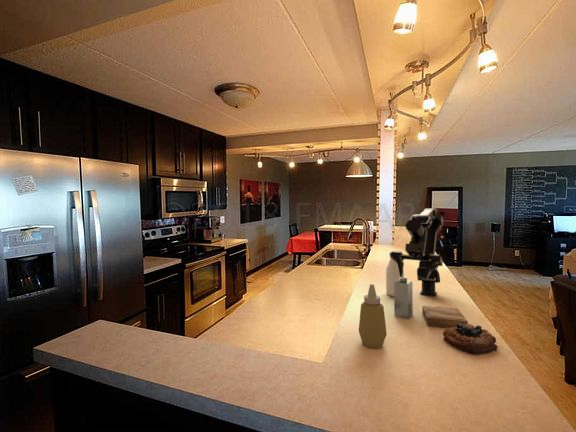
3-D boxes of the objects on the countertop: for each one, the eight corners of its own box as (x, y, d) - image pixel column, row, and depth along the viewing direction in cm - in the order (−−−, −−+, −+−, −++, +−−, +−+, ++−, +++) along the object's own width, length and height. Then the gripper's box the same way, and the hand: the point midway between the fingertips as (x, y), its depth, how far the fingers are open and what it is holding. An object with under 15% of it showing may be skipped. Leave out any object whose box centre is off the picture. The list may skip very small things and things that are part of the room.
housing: (399, 312, 109) (399, 276, 108) (412, 315, 105) (412, 278, 105) (394, 316, 105) (394, 278, 105) (408, 319, 102) (407, 280, 101)
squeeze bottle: (356, 348, 81) (356, 287, 81) (360, 336, 89) (359, 280, 89) (386, 353, 78) (385, 289, 78) (387, 340, 86) (386, 282, 86)
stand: (422, 313, 107) (422, 305, 107) (458, 316, 103) (457, 308, 103) (427, 326, 96) (427, 316, 96) (467, 330, 92) (467, 320, 92)
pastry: (503, 350, 79) (503, 330, 79) (471, 358, 75) (471, 337, 75) (467, 334, 90) (467, 316, 89) (438, 340, 86) (438, 321, 86)
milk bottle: (404, 297, 126) (404, 253, 125) (386, 296, 128) (386, 253, 128) (403, 292, 133) (403, 251, 133) (386, 291, 136) (385, 250, 135)
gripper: (389, 232, 116) (382, 268, 110) (439, 235, 104) (435, 275, 98) (397, 243, 124) (391, 277, 118) (444, 246, 112) (440, 284, 106)
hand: (412, 278), depth 110 cm, fingers open, 9 cm apart
